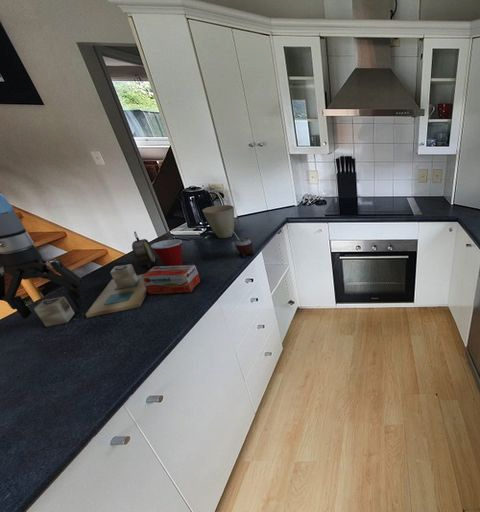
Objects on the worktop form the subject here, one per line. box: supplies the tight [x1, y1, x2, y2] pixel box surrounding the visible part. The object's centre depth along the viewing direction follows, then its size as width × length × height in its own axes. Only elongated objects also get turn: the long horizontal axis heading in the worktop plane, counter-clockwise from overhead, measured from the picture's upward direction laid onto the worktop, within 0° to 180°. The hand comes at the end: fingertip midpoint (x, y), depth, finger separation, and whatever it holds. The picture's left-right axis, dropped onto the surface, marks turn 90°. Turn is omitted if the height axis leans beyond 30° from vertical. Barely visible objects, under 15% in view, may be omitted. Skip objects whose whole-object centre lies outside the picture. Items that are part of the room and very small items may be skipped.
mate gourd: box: [227, 229, 254, 259], centre depth 129 cm, size 8×8×15 cm
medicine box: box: [141, 264, 201, 295], centre depth 104 cm, size 15×8×8 cm, turn 98°
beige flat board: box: [85, 273, 148, 319], centre depth 102 cm, size 14×24×2 cm, turn 26°
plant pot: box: [201, 204, 235, 239], centre depth 150 cm, size 15×15×16 cm
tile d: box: [33, 296, 75, 328], centre depth 87 cm, size 5×5×7 cm
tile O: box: [110, 263, 138, 288], centre depth 104 cm, size 5×5×7 cm
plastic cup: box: [150, 239, 184, 266], centre depth 118 cm, size 11×11×12 cm
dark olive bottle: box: [131, 230, 156, 270], centre depth 118 cm, size 11×5×16 cm, turn 32°
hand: (54, 310), depth 87 cm, fingers open, 11 cm apart
